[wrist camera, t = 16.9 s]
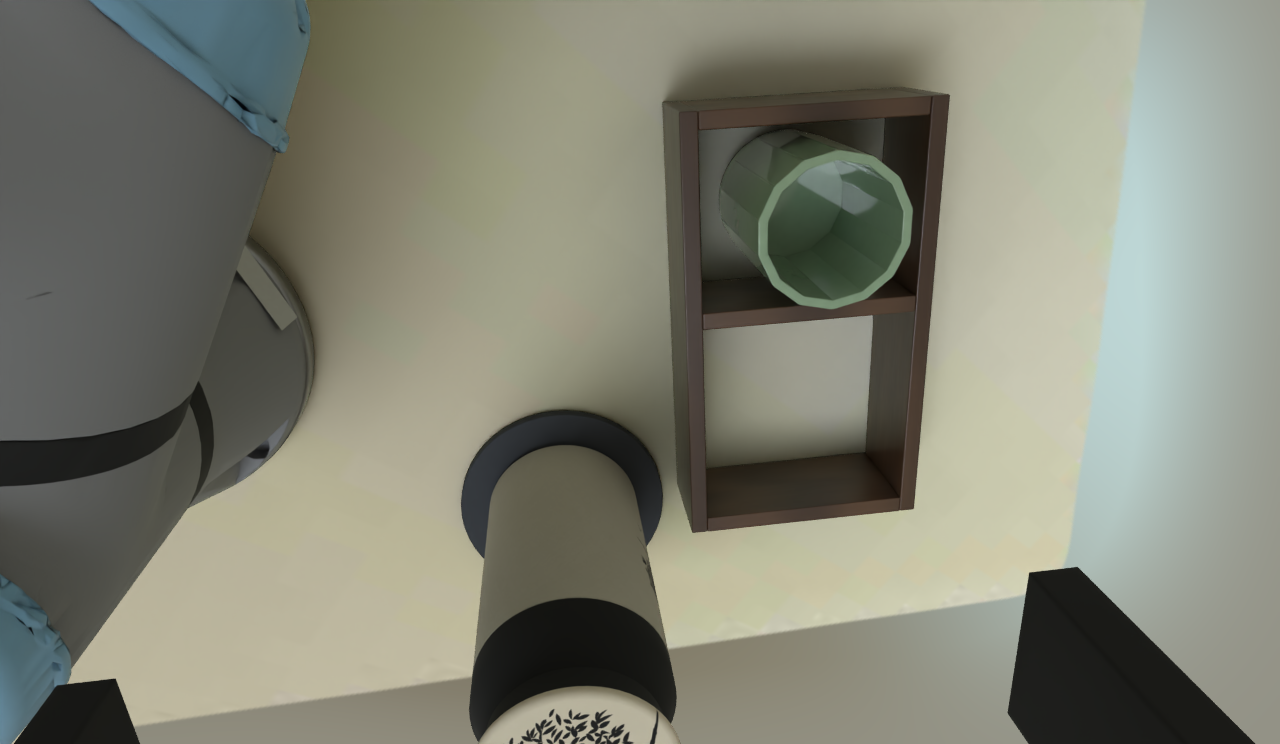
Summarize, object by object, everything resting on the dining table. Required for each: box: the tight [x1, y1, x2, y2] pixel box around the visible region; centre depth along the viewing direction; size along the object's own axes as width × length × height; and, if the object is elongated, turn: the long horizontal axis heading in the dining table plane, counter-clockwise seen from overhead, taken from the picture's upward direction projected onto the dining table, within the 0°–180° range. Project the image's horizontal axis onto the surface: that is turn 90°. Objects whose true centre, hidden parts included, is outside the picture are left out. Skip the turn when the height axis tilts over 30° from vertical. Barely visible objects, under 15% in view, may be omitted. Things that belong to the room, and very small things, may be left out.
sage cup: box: [719, 129, 913, 309], centre depth 37 cm, size 6×6×8 cm
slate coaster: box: [461, 411, 663, 558], centre depth 46 cm, size 11×11×1 cm
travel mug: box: [469, 445, 680, 744], centre depth 37 cm, size 8×8×18 cm
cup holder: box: [662, 87, 950, 533], centre depth 41 cm, size 12×20×5 cm, turn 3°
